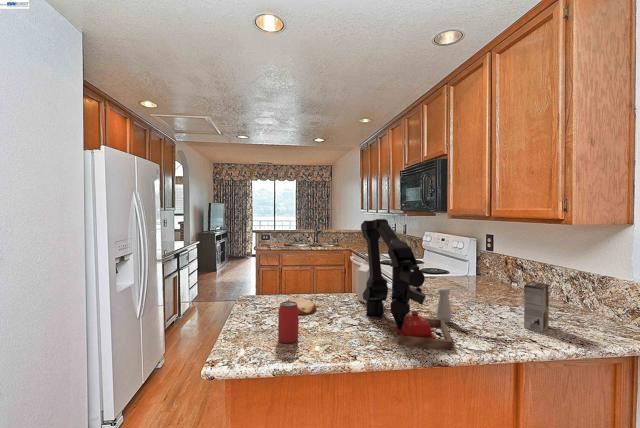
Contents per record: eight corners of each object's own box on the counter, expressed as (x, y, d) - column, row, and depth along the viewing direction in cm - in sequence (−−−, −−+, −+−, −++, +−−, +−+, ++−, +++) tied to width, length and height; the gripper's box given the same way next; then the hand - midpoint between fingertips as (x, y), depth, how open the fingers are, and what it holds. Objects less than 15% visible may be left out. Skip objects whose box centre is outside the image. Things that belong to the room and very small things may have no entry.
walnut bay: (398, 344, 101) (398, 336, 101) (399, 321, 123) (399, 315, 123) (452, 350, 97) (452, 342, 97) (443, 325, 119) (443, 319, 119)
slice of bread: (290, 301, 151) (290, 293, 151) (325, 305, 144) (325, 297, 144) (271, 311, 135) (271, 302, 135) (309, 317, 128) (309, 308, 128)
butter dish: (438, 341, 105) (439, 315, 105) (406, 343, 103) (406, 317, 103) (421, 328, 116) (422, 305, 116) (392, 330, 114) (392, 307, 114)
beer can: (278, 336, 107) (279, 300, 107) (298, 335, 107) (298, 300, 107) (277, 344, 100) (278, 306, 100) (298, 343, 100) (298, 306, 101)
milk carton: (366, 304, 147) (366, 263, 147) (357, 300, 153) (357, 261, 153) (378, 302, 150) (378, 262, 150) (369, 298, 156) (369, 260, 156)
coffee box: (529, 322, 124) (529, 281, 124) (549, 326, 119) (549, 284, 119) (523, 327, 118) (523, 284, 118) (544, 332, 113) (544, 287, 113)
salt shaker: (453, 324, 121) (453, 290, 121) (437, 323, 122) (437, 289, 122) (449, 319, 126) (450, 286, 126) (434, 318, 127) (435, 286, 127)
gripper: (426, 288, 101) (425, 337, 101) (422, 277, 119) (422, 318, 119) (390, 286, 104) (390, 333, 104) (392, 275, 122) (391, 316, 122)
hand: (399, 325), depth 112 cm, fingers open, 9 cm apart
